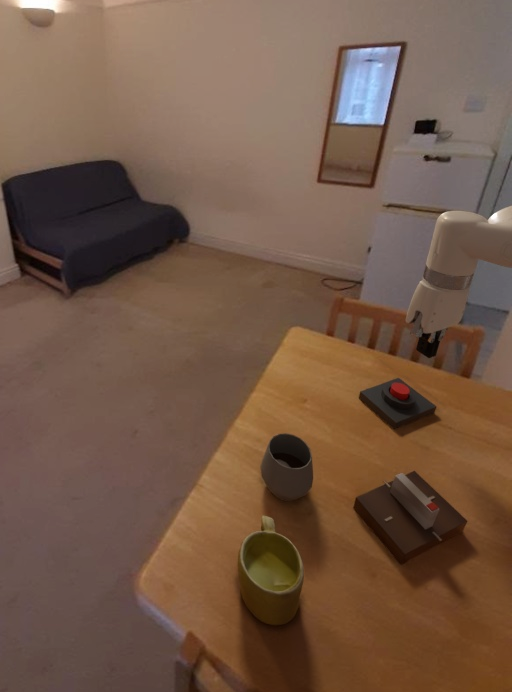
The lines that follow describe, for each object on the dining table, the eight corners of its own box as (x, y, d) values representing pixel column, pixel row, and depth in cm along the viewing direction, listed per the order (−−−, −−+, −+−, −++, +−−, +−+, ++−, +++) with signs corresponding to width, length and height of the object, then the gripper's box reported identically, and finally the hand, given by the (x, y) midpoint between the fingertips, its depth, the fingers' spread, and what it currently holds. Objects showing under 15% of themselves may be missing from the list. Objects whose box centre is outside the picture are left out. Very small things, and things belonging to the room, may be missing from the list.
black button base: (396, 384, 100) (400, 371, 98) (434, 413, 91) (439, 400, 90) (358, 398, 96) (361, 385, 95) (394, 430, 88) (398, 416, 86)
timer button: (398, 386, 94) (399, 380, 94) (411, 397, 91) (413, 391, 91) (386, 390, 93) (387, 385, 93) (399, 401, 90) (401, 395, 90)
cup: (257, 502, 75) (261, 466, 71) (260, 459, 83) (264, 424, 79) (311, 516, 72) (319, 479, 68) (309, 470, 80) (316, 435, 76)
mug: (311, 650, 55) (296, 587, 53) (238, 630, 59) (222, 572, 58) (316, 567, 65) (303, 513, 64) (254, 556, 70) (241, 506, 69)
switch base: (407, 478, 78) (411, 467, 77) (466, 535, 68) (471, 523, 67) (350, 504, 74) (353, 493, 72) (404, 569, 64) (408, 557, 63)
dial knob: (389, 492, 73) (395, 474, 70) (396, 488, 73) (402, 471, 71) (425, 529, 67) (432, 512, 65) (432, 526, 67) (440, 508, 65)
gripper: (456, 260, 82) (435, 334, 90) (399, 275, 78) (382, 352, 85) (495, 276, 75) (469, 354, 83) (436, 293, 71) (414, 374, 79)
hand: (425, 353), depth 84 cm, fingers closed
